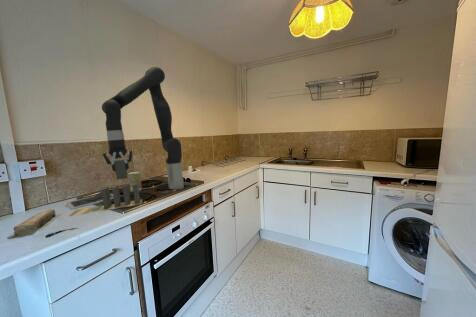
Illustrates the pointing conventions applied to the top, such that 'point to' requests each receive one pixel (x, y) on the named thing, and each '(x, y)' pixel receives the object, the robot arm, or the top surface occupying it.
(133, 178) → the skincare box
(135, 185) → the domino
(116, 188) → the domino
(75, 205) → the picture frame
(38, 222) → the packaged product
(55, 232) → the chef's knife
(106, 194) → the domino
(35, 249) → the top surface
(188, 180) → the top surface
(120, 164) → the domino
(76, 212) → the oak board
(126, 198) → the domino
